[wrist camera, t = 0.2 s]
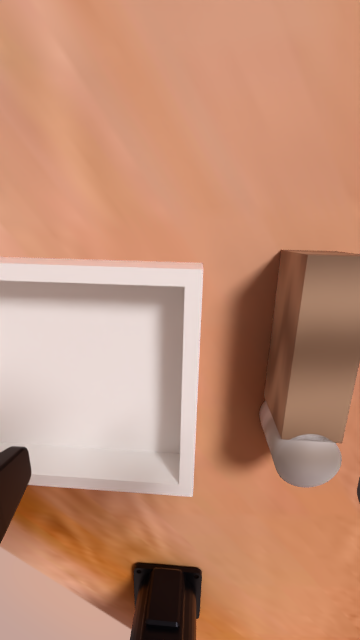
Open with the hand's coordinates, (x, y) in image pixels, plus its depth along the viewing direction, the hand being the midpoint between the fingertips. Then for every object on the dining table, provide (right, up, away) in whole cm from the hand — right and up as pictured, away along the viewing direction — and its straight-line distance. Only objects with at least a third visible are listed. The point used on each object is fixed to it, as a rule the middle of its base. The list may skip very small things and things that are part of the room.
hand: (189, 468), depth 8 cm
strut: (+8, +2, +13) cm, 16 cm away
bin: (-9, +1, +15) cm, 17 cm away
